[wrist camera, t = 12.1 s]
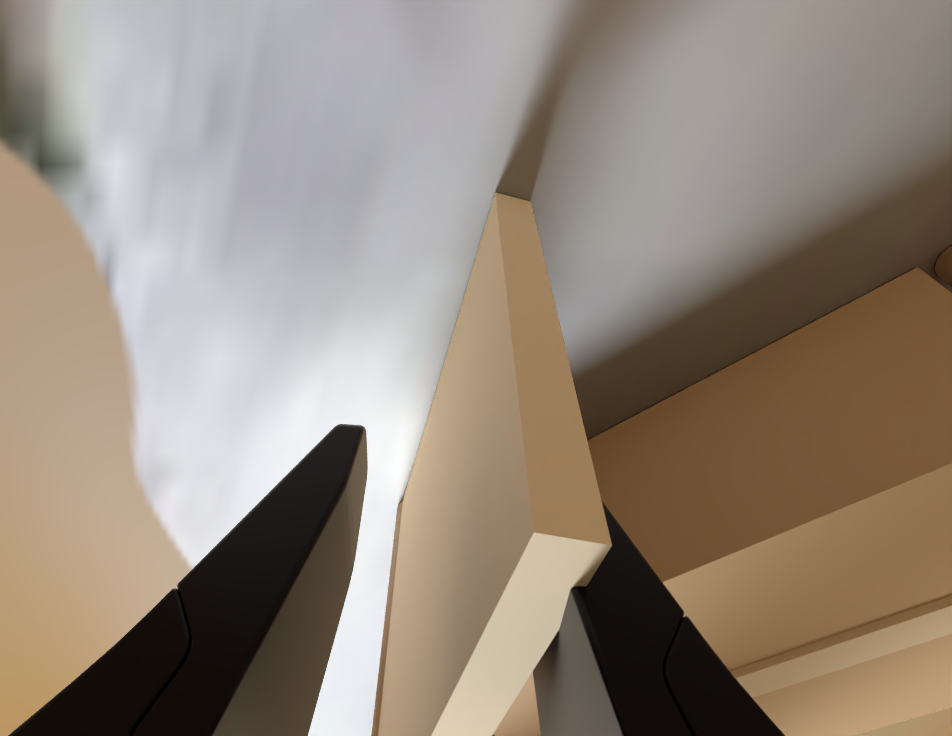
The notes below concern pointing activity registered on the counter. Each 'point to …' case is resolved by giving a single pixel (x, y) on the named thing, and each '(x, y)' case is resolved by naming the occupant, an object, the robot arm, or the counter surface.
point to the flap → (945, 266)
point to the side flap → (490, 503)
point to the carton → (806, 514)
